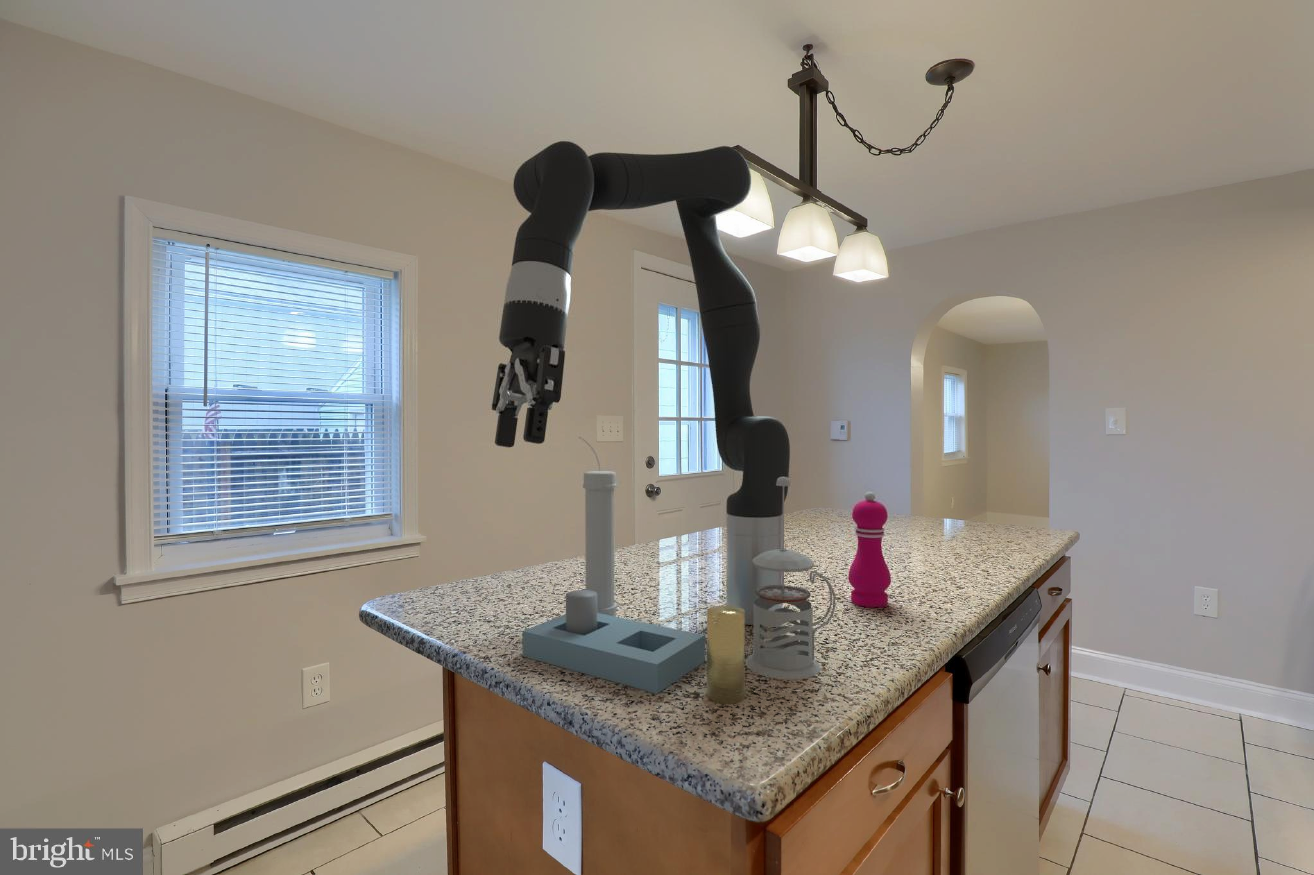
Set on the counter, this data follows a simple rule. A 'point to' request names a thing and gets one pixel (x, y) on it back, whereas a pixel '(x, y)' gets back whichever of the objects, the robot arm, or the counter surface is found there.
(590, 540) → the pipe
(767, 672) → the french press
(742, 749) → the counter surface
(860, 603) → the pepper mill
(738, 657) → the gold cylinder
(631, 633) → the jig
